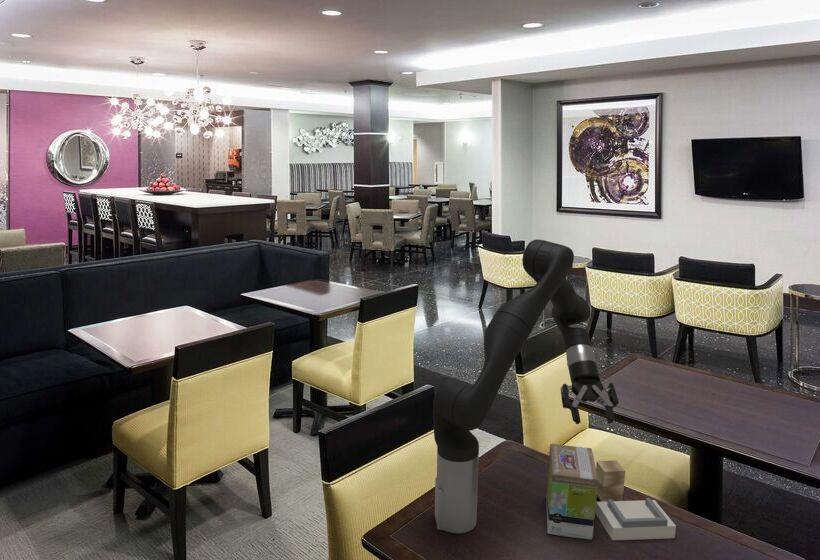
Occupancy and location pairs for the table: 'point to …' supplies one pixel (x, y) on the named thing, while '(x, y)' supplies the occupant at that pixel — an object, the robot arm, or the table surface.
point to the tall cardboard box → (610, 480)
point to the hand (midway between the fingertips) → (594, 422)
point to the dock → (635, 520)
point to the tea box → (571, 491)
